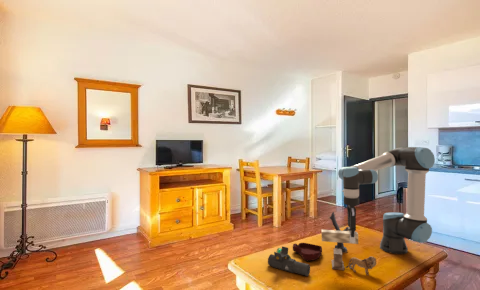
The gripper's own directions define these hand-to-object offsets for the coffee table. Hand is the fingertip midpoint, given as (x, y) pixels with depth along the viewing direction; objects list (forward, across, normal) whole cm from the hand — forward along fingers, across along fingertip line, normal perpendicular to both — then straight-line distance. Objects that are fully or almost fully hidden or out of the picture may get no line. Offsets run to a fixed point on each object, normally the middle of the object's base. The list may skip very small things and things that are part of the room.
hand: (351, 240), depth 141 cm
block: (+1, 0, -6) cm, 6 cm away
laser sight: (+15, +8, -33) cm, 37 cm away
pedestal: (+16, -4, -7) cm, 17 cm away
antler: (+16, -25, -4) cm, 30 cm away
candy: (+16, -8, -37) cm, 41 cm away
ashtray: (+16, -14, -22) cm, 30 cm away
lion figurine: (+16, 0, +5) cm, 17 cm away
